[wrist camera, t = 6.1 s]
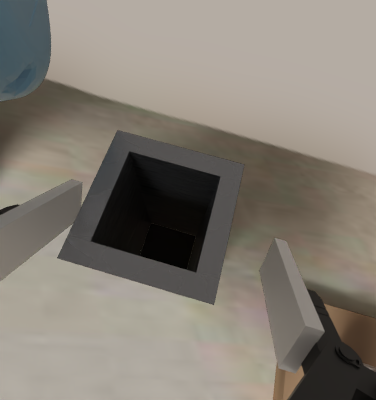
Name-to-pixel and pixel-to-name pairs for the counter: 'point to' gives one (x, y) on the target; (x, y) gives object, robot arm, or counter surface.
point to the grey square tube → (156, 214)
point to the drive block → (349, 333)
